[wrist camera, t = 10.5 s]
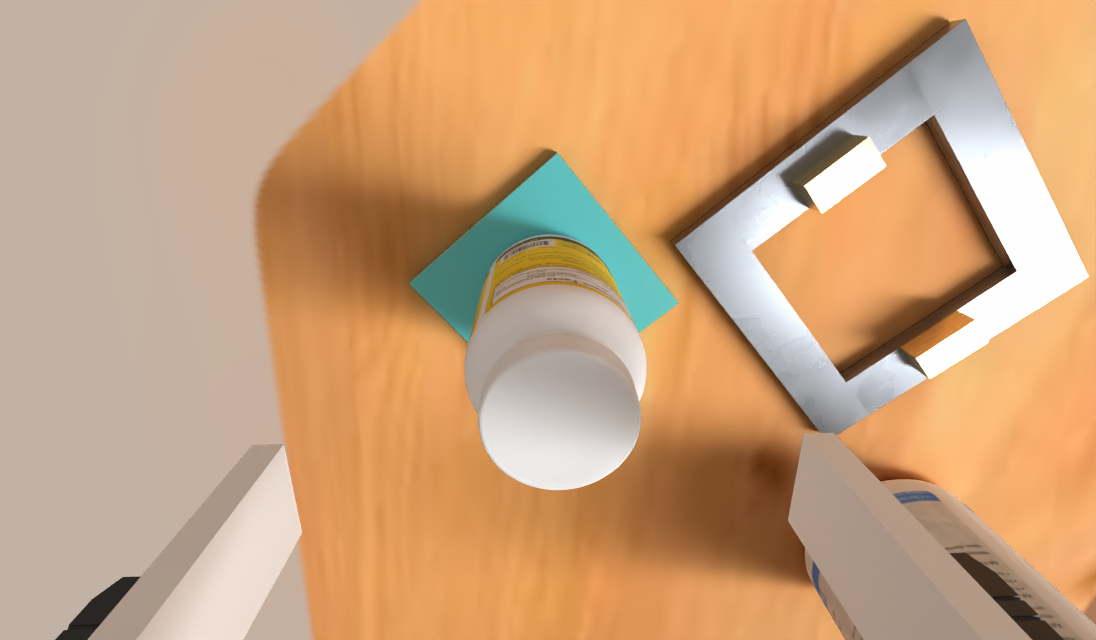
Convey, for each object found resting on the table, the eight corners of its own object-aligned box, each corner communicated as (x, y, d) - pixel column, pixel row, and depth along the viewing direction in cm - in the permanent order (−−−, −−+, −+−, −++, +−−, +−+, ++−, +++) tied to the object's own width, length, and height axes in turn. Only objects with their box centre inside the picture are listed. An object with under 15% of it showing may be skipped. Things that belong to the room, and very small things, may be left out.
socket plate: (819, 432, 30) (838, 454, 28) (670, 240, 25) (681, 252, 23) (1072, 271, 26) (1113, 284, 24) (951, 21, 22) (989, 14, 20)
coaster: (535, 404, 28) (535, 410, 28) (411, 279, 26) (408, 283, 25) (675, 298, 26) (678, 303, 26) (557, 151, 24) (557, 153, 23)
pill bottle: (562, 376, 27) (579, 544, 17) (458, 310, 26) (407, 449, 16) (641, 280, 25) (713, 403, 15) (534, 203, 24) (533, 281, 14)
